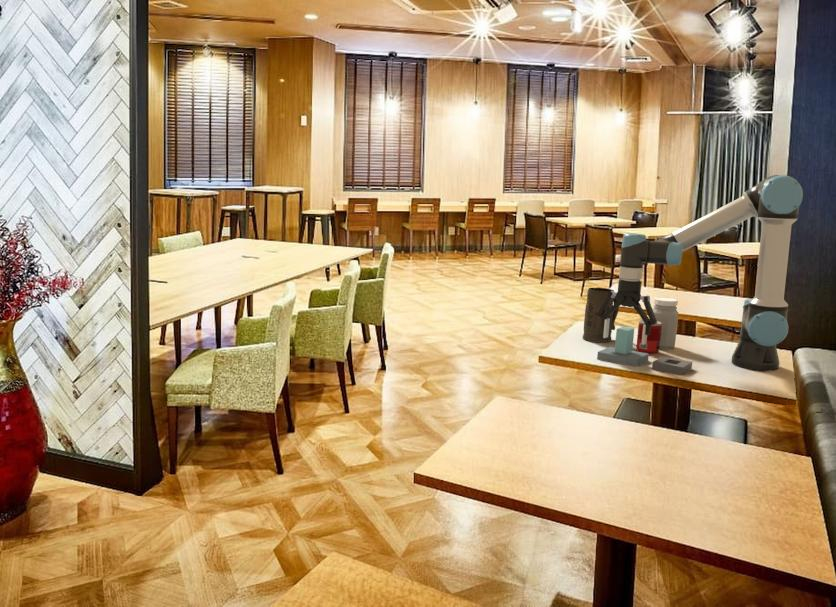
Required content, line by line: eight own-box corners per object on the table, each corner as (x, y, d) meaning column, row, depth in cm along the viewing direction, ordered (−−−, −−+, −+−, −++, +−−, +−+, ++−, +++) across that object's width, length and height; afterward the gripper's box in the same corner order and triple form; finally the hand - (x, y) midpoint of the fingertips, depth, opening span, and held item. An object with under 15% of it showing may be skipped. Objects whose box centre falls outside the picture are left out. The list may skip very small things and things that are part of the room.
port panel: (648, 360, 270) (648, 353, 269) (636, 366, 261) (637, 359, 261) (609, 353, 278) (610, 346, 277) (597, 358, 269) (597, 351, 268)
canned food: (661, 354, 280) (664, 324, 278) (639, 353, 280) (642, 323, 278) (655, 349, 287) (658, 320, 285) (633, 348, 287) (636, 319, 285)
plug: (631, 359, 271) (634, 328, 269) (625, 362, 266) (628, 330, 264) (620, 357, 273) (623, 326, 271) (613, 360, 268) (616, 329, 266)
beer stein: (599, 344, 291) (606, 291, 289) (575, 338, 299) (582, 286, 297) (622, 342, 302) (629, 290, 299) (598, 336, 310) (605, 286, 307)
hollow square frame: (691, 369, 261) (692, 361, 260) (682, 374, 253) (683, 367, 252) (661, 363, 267) (662, 356, 266) (651, 369, 259) (652, 361, 258)
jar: (671, 351, 286) (676, 302, 283) (644, 346, 291) (649, 299, 288) (677, 346, 294) (682, 299, 291) (651, 342, 299) (656, 295, 296)
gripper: (670, 282, 260) (664, 345, 264) (599, 274, 274) (594, 333, 278) (663, 285, 254) (656, 348, 258) (591, 276, 268) (586, 336, 272)
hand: (624, 340), depth 268 cm, fingers open, 13 cm apart
